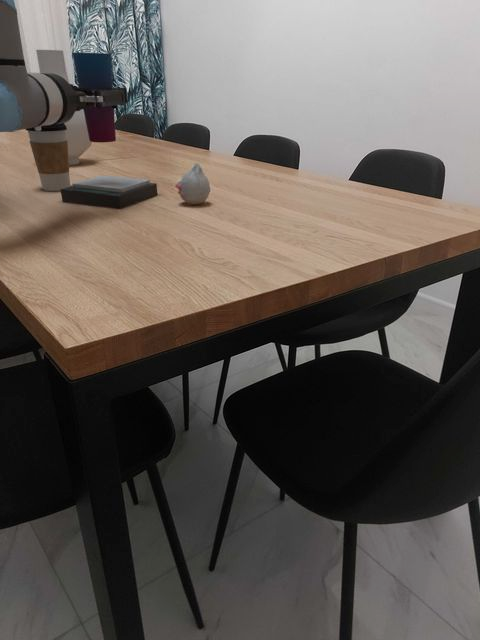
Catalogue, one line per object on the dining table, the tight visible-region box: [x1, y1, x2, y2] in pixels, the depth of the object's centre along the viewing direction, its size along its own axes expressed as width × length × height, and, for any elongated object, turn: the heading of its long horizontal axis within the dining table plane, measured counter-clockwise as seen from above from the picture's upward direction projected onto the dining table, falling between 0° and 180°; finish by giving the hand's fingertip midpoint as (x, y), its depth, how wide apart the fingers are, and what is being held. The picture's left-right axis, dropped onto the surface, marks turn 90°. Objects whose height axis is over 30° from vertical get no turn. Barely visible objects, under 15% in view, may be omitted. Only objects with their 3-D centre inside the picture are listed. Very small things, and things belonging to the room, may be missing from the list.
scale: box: [60, 174, 158, 210], centre depth 106 cm, size 14×14×3 cm
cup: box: [71, 52, 117, 143], centre depth 96 cm, size 7×7×15 cm
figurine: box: [174, 162, 211, 205], centre depth 101 cm, size 6×7×8 cm
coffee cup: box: [24, 123, 71, 192], centre depth 110 cm, size 8×8×15 cm
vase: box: [35, 49, 93, 166], centre depth 137 cm, size 17×16×28 cm
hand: (109, 95), depth 100 cm, fingers closed on cup, 6 cm apart
